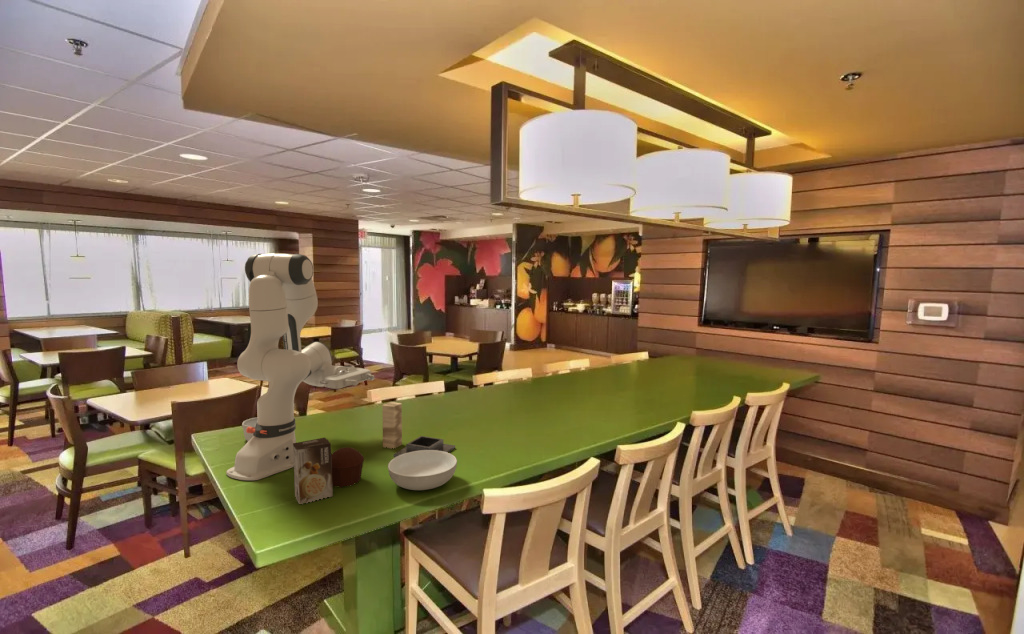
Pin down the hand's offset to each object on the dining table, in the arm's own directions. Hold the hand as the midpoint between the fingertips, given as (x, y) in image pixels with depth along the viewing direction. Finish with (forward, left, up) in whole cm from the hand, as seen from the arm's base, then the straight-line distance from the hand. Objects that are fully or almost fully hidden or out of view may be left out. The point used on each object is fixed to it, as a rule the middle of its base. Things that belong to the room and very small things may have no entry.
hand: (365, 380), depth 177 cm
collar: (-1, -27, -24) cm, 36 cm away
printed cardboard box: (-43, -16, -24) cm, 52 cm away
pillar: (0, -12, -24) cm, 27 cm away
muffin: (-31, -17, -24) cm, 43 cm away
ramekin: (-13, +40, -24) cm, 48 cm away
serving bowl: (-23, -40, -24) cm, 52 cm away
